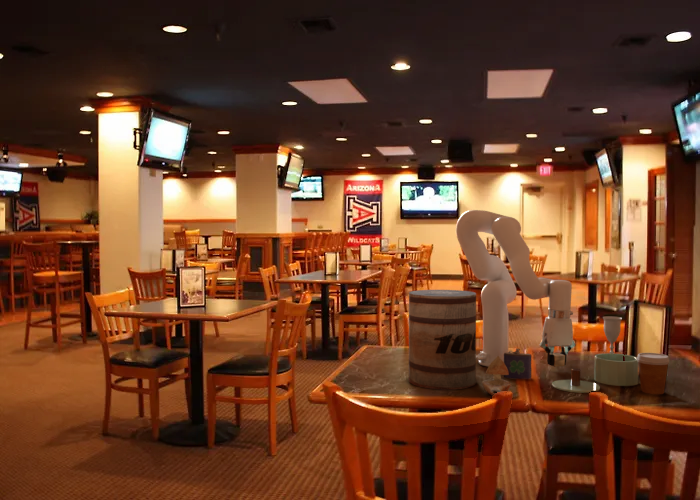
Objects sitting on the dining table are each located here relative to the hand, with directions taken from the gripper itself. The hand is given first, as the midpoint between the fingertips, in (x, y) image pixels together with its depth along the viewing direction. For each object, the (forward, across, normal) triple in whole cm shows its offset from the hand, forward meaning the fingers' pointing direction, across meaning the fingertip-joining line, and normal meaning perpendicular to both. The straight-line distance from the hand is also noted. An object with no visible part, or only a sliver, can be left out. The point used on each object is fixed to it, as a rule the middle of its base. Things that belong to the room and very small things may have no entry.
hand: (556, 364), depth 230 cm
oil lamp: (+3, +35, +23) cm, 42 cm away
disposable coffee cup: (+2, -13, +34) cm, 36 cm away
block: (0, 0, 0) cm, 0 cm away
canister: (+2, -11, +19) cm, 22 cm away
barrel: (+4, +45, +3) cm, 45 cm away
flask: (+3, +19, +7) cm, 21 cm away
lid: (+2, +7, +23) cm, 24 cm away
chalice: (+2, -27, -5) cm, 27 cm away
